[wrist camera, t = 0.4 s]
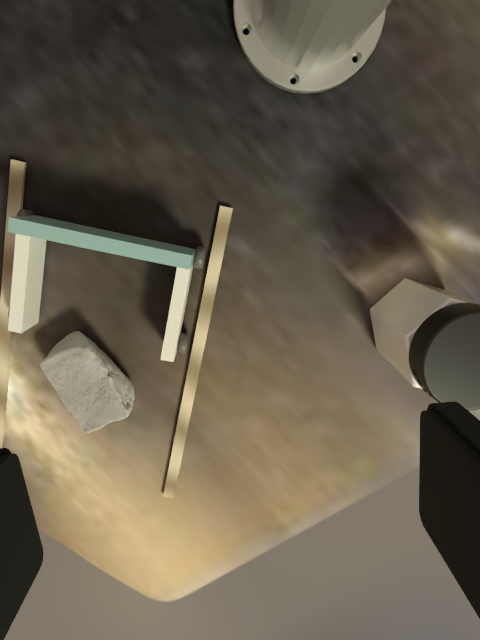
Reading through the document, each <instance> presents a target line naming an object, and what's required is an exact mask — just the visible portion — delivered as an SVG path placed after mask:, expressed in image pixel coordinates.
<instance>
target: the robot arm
mask: <svg viewBox="0 0 480 640" xmlns="http://www.w3.org/2000/svg"><path fill="white" fill-rule="evenodd" d="M391 1H392V0H234V3H233V17H234V23H235V30H236V34H237V37H238V40H239V43H240V46H241V49H242V51H243V52H244V54H245V56H246V58H247V60H248V62H249V63H250V64H251V65H252V66H253V68H254V69H255V70H256V71H257V73H258V74H260V75H261V76H262V77H263V78H264V79H265V80H267V81H268V82H269V83H271V84H273V85H275V86H277V87H278V88H280V89H283V90H287V91H290V92H293V93H303V94H310V93H318V92H323V91H326V90H328V89H331V88H334V87H336V86H338V85H339V84H341V83H343V82H344V81H346V80H347V79H349V78H350V77H351V76H352V75H353V74H354V73H356V72H357V71H358V70H359V69H360V68H361V67H362V65H363V64H364V63H365V62H366V60H367V59H368V57H369V56H370V54H371V53H372V51H373V50H374V48H375V46H376V44H377V42H378V39H379V37H380V35H381V32H382V28H383V24H384V20H385V14H386V7H387V6H388V4H389V3H390V2H391ZM244 30H247V31H248V32H249V34H248V35H244V34H243V31H244ZM352 58H356V60H357V61H356V63H354V62H353V61H352ZM291 79H294V80H295V81H296V83H295V84H291V83H290V80H291ZM419 512H420V517H421V521H422V524H423V526H424V528H425V529H426V531H427V533H428V534H429V536H430V538H431V539H432V541H433V543H434V544H435V546H436V547H437V549H438V551H439V552H440V554H441V555H442V557H443V559H444V561H445V562H446V564H447V566H448V567H449V569H450V571H451V572H452V574H453V575H454V577H455V579H456V580H457V582H458V584H459V585H460V587H461V589H462V590H463V592H464V594H465V595H466V597H467V599H468V600H469V602H470V603H471V605H472V607H473V608H474V610H475V612H476V613H477V615H478V617H479V618H480V421H479V420H478V419H477V418H476V417H475V416H473V415H472V414H471V413H470V412H469V411H468V410H466V409H465V408H464V407H463V406H462V405H461V404H459V403H458V402H456V401H452V402H442V403H433V404H430V405H429V406H428V408H427V410H426V411H422V412H421V416H420V485H419ZM42 561H43V547H42V544H41V540H40V537H39V533H38V529H37V525H36V521H35V517H34V514H33V510H32V506H31V502H30V499H29V495H28V491H27V487H26V484H25V480H24V476H23V472H22V469H21V465H20V461H19V458H18V456H17V455H16V454H14V453H13V454H11V452H10V451H9V449H7V448H0V640H4V638H5V636H6V634H7V632H8V630H9V628H10V626H11V624H12V622H13V620H14V618H15V616H16V614H17V613H18V611H19V609H20V607H21V604H22V603H23V601H24V599H25V597H26V595H27V593H28V591H29V589H30V587H31V585H32V583H33V581H34V579H35V577H36V575H37V573H38V571H39V569H40V567H41V565H42Z"/></svg>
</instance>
